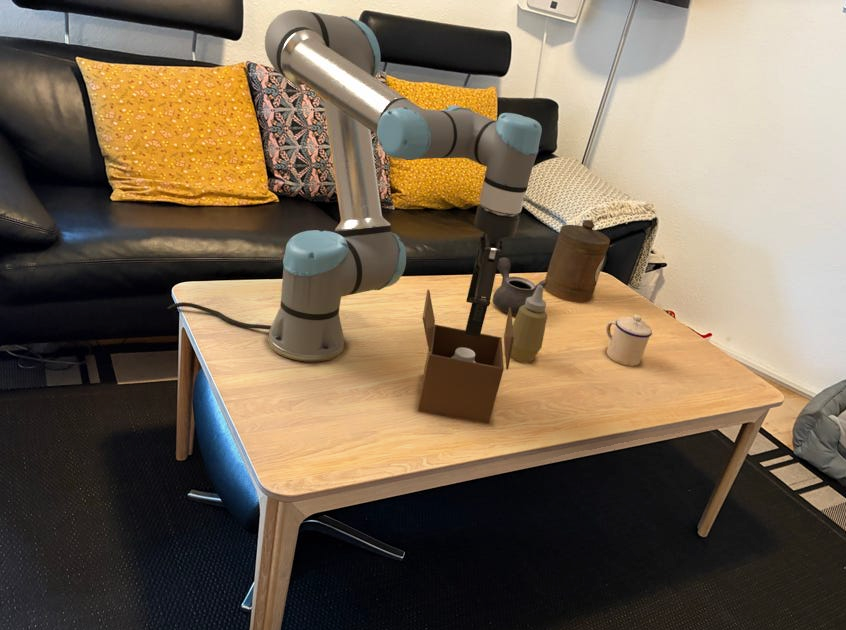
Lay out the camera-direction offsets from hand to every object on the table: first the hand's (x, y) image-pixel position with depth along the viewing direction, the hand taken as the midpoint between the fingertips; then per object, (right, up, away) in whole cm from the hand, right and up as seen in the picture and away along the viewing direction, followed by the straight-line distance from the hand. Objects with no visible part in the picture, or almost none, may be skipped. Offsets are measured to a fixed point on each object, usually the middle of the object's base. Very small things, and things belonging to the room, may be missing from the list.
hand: (472, 317), depth 126 cm
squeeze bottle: (+11, -7, +31) cm, 34 cm away
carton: (-4, -16, +9) cm, 18 cm away
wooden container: (+27, +12, +74) cm, 80 cm away
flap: (-8, 0, 0) cm, 8 cm away
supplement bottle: (-4, -15, +9) cm, 18 cm away
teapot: (+10, +8, +57) cm, 59 cm away
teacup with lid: (+36, -7, +44) cm, 57 cm away
